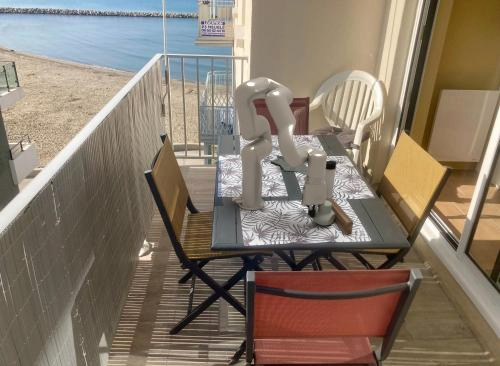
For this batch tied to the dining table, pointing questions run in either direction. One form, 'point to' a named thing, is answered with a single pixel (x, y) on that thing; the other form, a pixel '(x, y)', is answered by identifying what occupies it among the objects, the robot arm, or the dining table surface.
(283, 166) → the decorative slab
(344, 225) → the board
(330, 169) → the travel mug
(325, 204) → the air freshener
